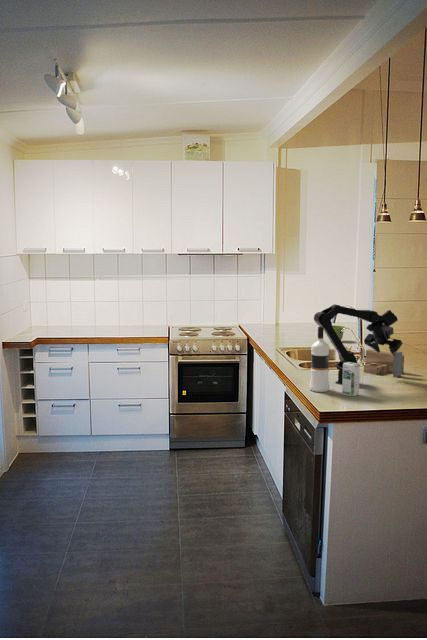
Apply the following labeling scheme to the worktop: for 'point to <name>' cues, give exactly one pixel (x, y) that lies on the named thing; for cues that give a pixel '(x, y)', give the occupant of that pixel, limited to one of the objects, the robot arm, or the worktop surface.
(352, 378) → the syrup box
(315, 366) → the vodka
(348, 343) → the worktop surface
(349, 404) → the worktop surface
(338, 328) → the plant pot
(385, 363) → the wooden socket
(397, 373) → the grey bar
